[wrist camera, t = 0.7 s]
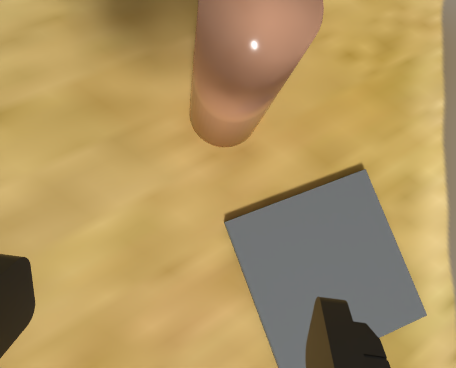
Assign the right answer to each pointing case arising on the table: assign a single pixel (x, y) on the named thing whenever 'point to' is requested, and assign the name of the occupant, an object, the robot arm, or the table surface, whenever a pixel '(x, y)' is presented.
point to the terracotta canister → (245, 61)
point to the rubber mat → (323, 263)
